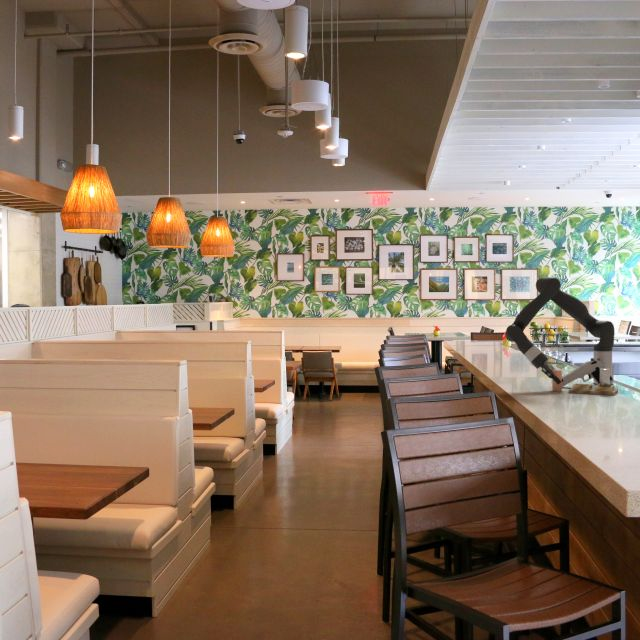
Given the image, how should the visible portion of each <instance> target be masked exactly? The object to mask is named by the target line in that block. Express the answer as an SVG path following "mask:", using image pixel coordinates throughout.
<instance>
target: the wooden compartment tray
mask: <svg viewBox="0 0 640 640" xmlns="http://www.w3.org/2000/svg"><path fill="white" fill-rule="evenodd" d="M568 393H569V394H577V393H578V395H596V396H615V395H616V394H618V393H619V389H618V388H617V389H616V388H615V385H612V384H610V387H600V385H598V384H596V385H595V386H594V387H593V384H589V383H587V384H585V383H575V384H573V385H572V387H571V388H570V389H568Z"/></svg>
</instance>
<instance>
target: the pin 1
mask: <svg viewBox="0 0 640 640" xmlns="http://www.w3.org/2000/svg"><path fill="white" fill-rule="evenodd" d="M553 371H554V374H555V375H556V376H557V377H558V378H559V379H560V380H561V383H560V384H557V383H556V382H555V381H554V380H553V379H551V380H552V382H551V384H552V388H551V389H552V392H562V390H563V387H562V376H563V370H560V369H556V370H553Z"/></svg>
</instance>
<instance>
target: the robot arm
mask: <svg viewBox="0 0 640 640" xmlns="http://www.w3.org/2000/svg"><path fill="white" fill-rule="evenodd" d="M535 288H536V289H535V290H536V291H537V292H538V293H539V294H538V295H537V296H536V297H535V298H534V299H533V300H531V301H530V302H529V303H527V304H526V305H525V306H524V307H522V309H521V310H520V311H519V313H518V314H517V315H516V316H515V319H514V321H513V323H512V324H509V325H508V326H507V327H506V329H505V334H504V336H505V339H506V340H507V341H508V342H511V343H514V344H515V345H516V347H517V349H518V351H520V353H521V354H523V356H524V357H525V358H526V360H528V361H529V363H531V364H532V366H534V367H535V369H537V370H538V369H540V368H541V372H542V373H544V374H545V376H547V377H548V378H549V379H550V380H552V379H553V380H554V381H555V382H556V383H557V384H560V383H561V380H560V379H559V378H558V377H557V376H556V375H555V374H554V371H553V370H557V369H556V368H555V367H554V366H553V365H552V364H550V363H548V362H547V361H548V360H549V357H547V355H546V354H545V353H543V351H542V350H541V349H540V348H539V347H537V346H536V345H535V344H534V343H533V341H531V340H530V339H529V338H528V337H527V335H526V333H524V331H525V329H526V328H527V327H528V325H530V323H531V322H532V320H534V318H535V317H536V315H537V314H538V313H539V312H540V311H541V309H543V308H544V307H545V305H547V303H548V302H550V301H551V302H552V303H554V304H555V305H556V306H557V307H558V308H560V309H561V310H563V312H565V314H567V315H568V316H569V317H571V318H573V319H574V320H575V321H576V322H578V323H579V324H580V325H581V326H583V327H584V328H585V329H586V331H588V333H590V335H592V336H593V337H595V338H597V339H599V341H598V343H597V344H594V346H593V359H595V360H597V359H598V358H600V362H601V363H602V362H608V363H606V364H604V365H603V366H602V369H610V376H611V377H612V379H613V381H612V382H611V383H610V385H612V384H614V365H613V347H614V344H615V326H614V324H613V322H612V321H610V320H599V319H598V318H597V319H596V317H593V315H591V314H590V313H589V309H588V306H587V305H586V304H585V303H584V302H583V301H581V300H580V299H578V297H575V296H573V295H572V294H570V293H567V292H565V291H563V290H561V282H560V279H558V278H557V277H554V276H543V277H540V278H537V280H536V282H535ZM592 379H593V378H592ZM563 381H564V380H563V379H562V382H563ZM592 382H593V384H596V385H598V384H597V382H596V381H595V380H594V379H593V381H592Z"/></svg>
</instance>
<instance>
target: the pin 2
mask: <svg viewBox="0 0 640 640" xmlns="http://www.w3.org/2000/svg"><path fill="white" fill-rule="evenodd" d="M610 385H611V384H610V369H600V387H610Z"/></svg>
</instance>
